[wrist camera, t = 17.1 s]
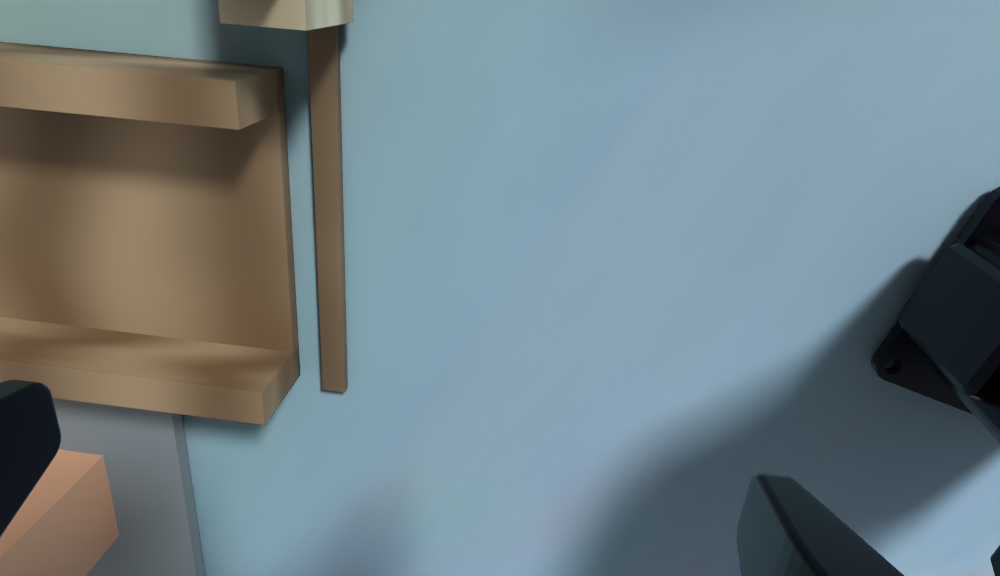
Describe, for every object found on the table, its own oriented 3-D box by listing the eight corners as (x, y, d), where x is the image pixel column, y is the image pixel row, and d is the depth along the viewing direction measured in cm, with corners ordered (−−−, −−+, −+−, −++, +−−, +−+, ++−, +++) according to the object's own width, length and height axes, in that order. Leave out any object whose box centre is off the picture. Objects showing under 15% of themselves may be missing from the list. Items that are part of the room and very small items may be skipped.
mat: (178, 390, 25) (169, 399, 24) (207, 588, 29) (200, 600, 28) (-78, 358, 26) (-92, 366, 25) (-14, 556, 30) (-25, 566, 29)
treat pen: (327, -464, 15) (271, -563, 12) (347, 387, 24) (317, 439, 21) (-381, -491, 16) (-579, -588, 13) (-105, 332, 25) (-188, 374, 22)
